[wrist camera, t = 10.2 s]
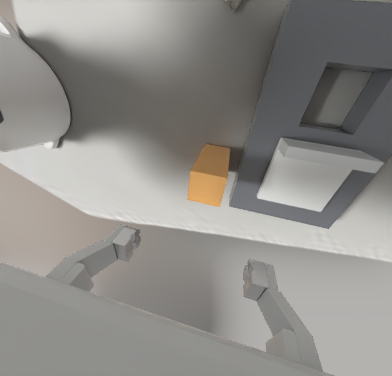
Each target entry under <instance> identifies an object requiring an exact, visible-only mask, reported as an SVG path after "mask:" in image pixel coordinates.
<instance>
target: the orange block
mask: <svg viewBox="0 0 392 376" xmlns="http://www.w3.org/2000/svg"><path fill="white" fill-rule="evenodd" d="M229 157H230V148H227V147H221V146H216V145H210V144H205V146H204V148H203V149H202V151H201V153H200V155H199V156H198V158H197V160H196V162H195V164H194V165H193V167H192V169H191V171H190V180H189V190H188V199H187V200H191V201H196V202H200V203H204V204H209V205H213V206H217V207H220V204H221V200H222V197H223V193H224V189H225V185H226V181H227V176H228V167H229Z"/></svg>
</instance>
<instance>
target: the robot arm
mask: <svg viewBox="0 0 392 376" xmlns="http://www.w3.org/2000/svg"><path fill="white" fill-rule="evenodd" d="M70 118H71V117H70V108H69V104H68V100H67V97H66V95H65V92H64V90H63V88H62V86H61V84H60V82H59V80H58V79H57V77H56V75H55V74H54V72H53V71H52V70H51V68H50V67H49V66H48V64H47V63H46V62H45V61H44V60H43V59H42V58H41V57H40V56H39V55H38V54H37V53H36V52H35V51H34V50H32V49H31V48H30V47H29V46H28V45H27V44H26V43H25V42H24V41H23V40H22V39H21V38H20V36H19V35H18V34H17V32H16V31H15V30H14V28H13V27H12V26H11V24H10V23H9V22H8V21H7V20H6V19H5V18H3V17H1V16H0V152H8V151H12V150H17V149H22V148H26V147H31V146H35V145H41V146H43V147H46V148H48V149H53V148H57V146H58V143H59V139H60V137H61V136H63V135H64V134H65V133H66V132H67V130H68V128H69V126H70ZM139 233H140V230H139V229H136V228H133V227H129V226H126V225H123V224H120V225H118V226H117V227H116V228H115V229H114V231H113V232H112V233H111V234H110V235H109V236H108V237H107V238H106V239H105V241H104V240H102V241H100V242H98V243H96V244H94V245H92V246H89V247H87V248H85V249H83V250H81V251H79V252H76V253H74V254H72V255H70V256H68V257H66V258H65V259H63V261H62V262H60V263H59V264H58V265H57V266H56V267H55V268H54V269H53V270H52V271H51V272H50V273H49V274H48V275H47V276H46V277H45V276H42V275H38V274H36V273H33V272H30V271H27V270H24V269H21V268H18V267H15V266H12V265H10V264H7V263H4V262H1V261H0V376H334V375H331V374H328V373H325V372H323V370H322V367H321V363H320V360H319V356H318V353H317V350H316V346H315V343H314V339H313V336H312V335H311V334H310V332H309V331H308V330H307V328H306V327H305V325H304V324H303V322H302V321H301V320H300V318H299V317H298V316H297V314H296V313H295V311H294V310H293V308H292V307H291V306H290V304H289V303H288V302H287V300H286V299H285V297H284V296H283V294H282V293H281V292H279V291H278V287H277V281H276V276H275V271H274V267H273V266H272V265H270V264H266V263H263V262H259V261H255V260H251V259H249V260H248V265H246V266H245V268H244V272H243V280H244V281H245V284H244V287H243V288H244V297H246V298H249V299H252V300H255V301H257V303H258V306H259V308H260V310H261V312H262V313H263V316H264V318H265V320H266V322H267V324H268V326H269V328H270V330H271V332H272V334H273V337H272V338H271V339H270V340H268V341H267V342H266V351H267V352H264V351H261V350H258V349H255V348H252V347H249V346H246V345H243V344H240V343H238V342H234V341H232V340H228V339H226V338H223V337H220V336H217V335H214V334H211V333H208V332H205V331H202V330H199V329H196V328H193V327H191V326H188V325H185V324H181V323H179V322H176V321H173V320H170V319H167V318H164V317H162V316H159V315H156V314H153V313H150V312H147V311H144V310H141V309H138V308H135V307H132V306H130V305H127V304H124V303H121V302H118V301H115V300H112V299H109V298H106V297H103V296H100V295H97V294H94V293H92V292H90V290H91V289H92V288H93V286H94V282H93V281H92V279H91V277H93V276H94V275H96V274H97V273H99V272H100V271H102V270H103V269H105V268H106V267H107V266H109V265H110V264H112V263H113V262H115V261H116V260H117V259H120V260H124V261H127V262H128V261H129V260H130V258H131V257H132V255H133V250H135V249H137V247H138V246H139V244H140V241H141V236H140V235H139Z"/></svg>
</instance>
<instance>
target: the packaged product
mask: <svg viewBox="0 0 392 376" xmlns="http://www.w3.org/2000/svg"><path fill="white" fill-rule="evenodd" d="M224 1H225V2H226V3H228V5H229V6H230V7H231V8H232V9H233V11H234V12H236V10H237V8H238V7H239V5H240V3H241V2H242V0H224Z"/></svg>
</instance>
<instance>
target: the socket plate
mask: <svg viewBox="0 0 392 376" xmlns="http://www.w3.org/2000/svg"><path fill="white" fill-rule="evenodd" d="M325 67H331V68H340V69H349V70H358V71H367V72H373V74H372V76H371V77H370V79H369V81H368V82H367V84H366V86H365V87H364V89H363V91H362V92H361V94H360V96H359V97H358V99H357V101H356V102H355V104H354V106H353V107H352V109H351V111H350V112H349V114H348V116H347V117H346V119H345V121H344V122H343V124H342V125H341V127H340V129H334V128H328V127H321V126H315V125H308V124H302V123H300V122H301V119H302V117H303V115H304V113H305V111H306V108H307V106H308V104H309V102H310V100H311V97H312V95H313V93H314V91H315V89H316V86H317V84H318V82H319V80H320V78H321V76H322V73H323V71H324V69H325ZM281 137H282V138H288V139H294V140H300V141H306V142H312V143H318V144H324V145H330V146H336V147H342V148H348V149H354V150H360V151H362V152H364V153H366V154H368V155H370V156H372V157H374V158H376V159H378V160H380V161H382V162H384V164H385V163H386V162H387V160H388V159H389V158H390V157H391V156H392V3H383V2H367V1H352V0H291V1H290V2H289V4H288V5H287V7H286V9H285V10H284V13H283V17H282V20H281V23H280V27H279V30H278V34H277V37H276V41H275V44H274V47H273V51H272V54H271V58H270V61H269V64H268V68H267V71H266V75H265V78H264V81H263V85H262V88H261V92H260V95H259V99H258V102H257V105H256V109H255V112H254V116H253V119H252V122H251V126H250V129H249V133H248V136H247V140H246V143H245V146H244V150H243V153H242V157H241V160H240V163H239V167H238V170H237V174H236V177H235V180H234V184H233V187H232V191H231V194H230V202H229V206H230V207H234V208H239V209H243V210H248V211H252V212H256V213H261V214H265V215H270V216H274V217H279V218H283V219H287V220H292V221H296V222H301V223H305V224H309V225H314V226H318V227H323V228H327V229H329V228H330V227H331V226H332V224H333V223H334V222H335V221H336V220H337V219H338V217H339V216H340V215H341V214H342V213H343V212H344V210H345V209H346V208H347V207H348V206H349V205H350V203H351V202H352V201H353V200H354V199H355V198H356V196H357V195H358V194H359V193H360V192H361V191H362V190H363V188H364V187H365V186H366V185H367V184H368V183H369V181H370V180H371V179H372V178H373V177H374V176H375V174H376V173H377V172H378V171H379V170H380V169H381V167H382V166H383V165H384V164H383V165H382V166H381V167H380V169H379V170H378V171H377V172H376V173H370V172H364V171H359V170H352V171H351V172H350V174H349V175H348V176H347V178H346V179H345V180H344V182H343V183H342V184H341V186H340V187H339V188H338V190H337V191H336V192H335V194H334V195H333V196H332V198H331V199H330V200H329V202H328V203H327V204H326V206H325V207H324V208H323V210H322V211H321V212H318V211H313V210H309V209H304V208H300V207H295V206H290V205H286V204H281V203H276V202H272V201H267V200H263V199H258V198H257V194H258V191H259V189H260V186H261V184H262V181H263V179H264V177H265V174H266V172H267V169H268V167H269V164H270V162H271V160H272V157H273V155H274V152H275V150H276V147H277V145H278V143H279V140H280V138H281Z"/></svg>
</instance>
